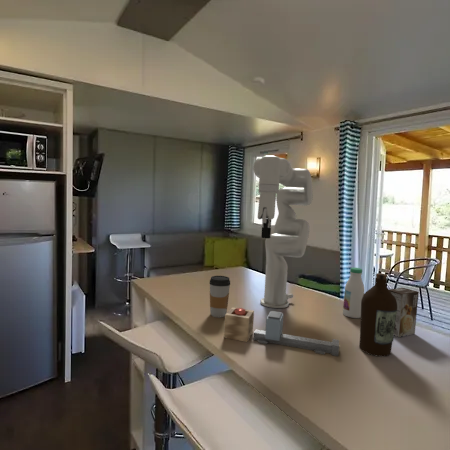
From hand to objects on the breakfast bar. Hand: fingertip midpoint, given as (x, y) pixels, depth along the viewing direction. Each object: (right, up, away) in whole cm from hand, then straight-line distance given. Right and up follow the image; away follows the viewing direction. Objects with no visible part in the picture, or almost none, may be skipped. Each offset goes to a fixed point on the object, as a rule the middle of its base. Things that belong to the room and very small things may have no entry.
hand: (265, 237), depth 130 cm
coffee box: (+49, -35, -4) cm, 60 cm away
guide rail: (+6, -34, -18) cm, 39 cm away
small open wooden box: (-11, -33, -13) cm, 37 cm away
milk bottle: (+38, -33, +13) cm, 52 cm away
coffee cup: (-18, -31, +6) cm, 36 cm away
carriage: (+1, -32, -17) cm, 36 cm away
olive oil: (+33, -36, -19) cm, 52 cm away
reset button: (-11, -29, -13) cm, 34 cm away
